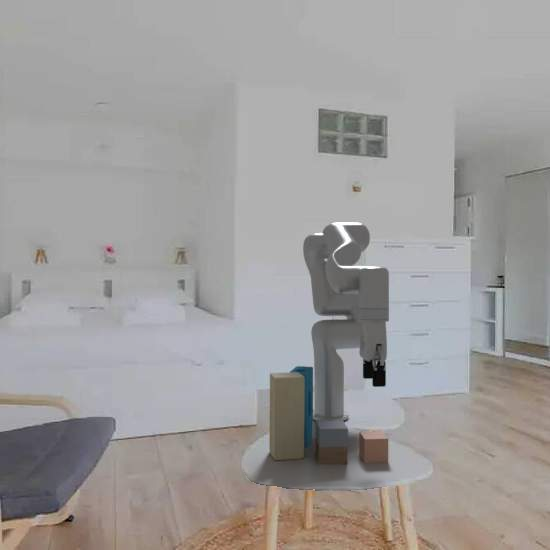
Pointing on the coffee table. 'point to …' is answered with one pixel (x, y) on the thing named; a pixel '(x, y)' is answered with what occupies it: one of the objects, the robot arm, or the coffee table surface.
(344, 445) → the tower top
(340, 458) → the tower bottom
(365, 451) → the terracotta cube
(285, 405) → the cream box
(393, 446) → the coffee table surface
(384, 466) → the coffee table surface
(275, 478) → the coffee table surface
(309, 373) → the block
